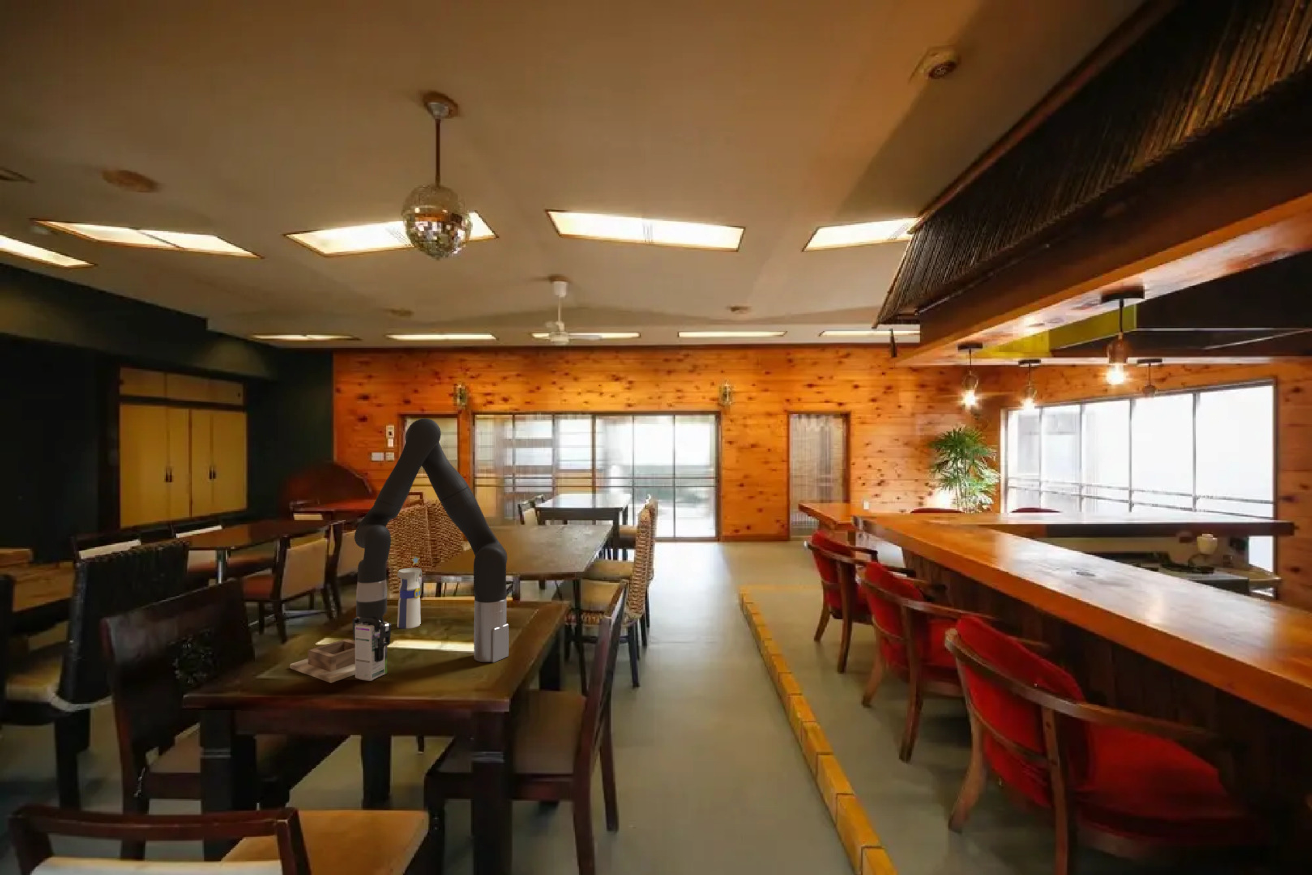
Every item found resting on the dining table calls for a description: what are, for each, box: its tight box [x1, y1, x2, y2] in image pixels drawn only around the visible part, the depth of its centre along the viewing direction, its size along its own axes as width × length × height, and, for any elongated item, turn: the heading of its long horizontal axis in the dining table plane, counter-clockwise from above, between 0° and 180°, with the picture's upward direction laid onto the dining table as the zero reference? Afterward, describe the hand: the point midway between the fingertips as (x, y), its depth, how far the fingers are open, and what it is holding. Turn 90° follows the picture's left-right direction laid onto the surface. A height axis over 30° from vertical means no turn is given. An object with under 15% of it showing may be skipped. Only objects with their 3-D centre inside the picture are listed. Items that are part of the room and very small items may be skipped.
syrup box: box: [354, 620, 388, 682], centre depth 155 cm, size 6×6×14 cm
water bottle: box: [396, 555, 423, 629], centre depth 201 cm, size 8×9×25 cm
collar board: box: [289, 638, 355, 684], centre depth 163 cm, size 20×16×5 cm
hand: (371, 658), depth 155 cm, fingers closed on syrup box, 6 cm apart
